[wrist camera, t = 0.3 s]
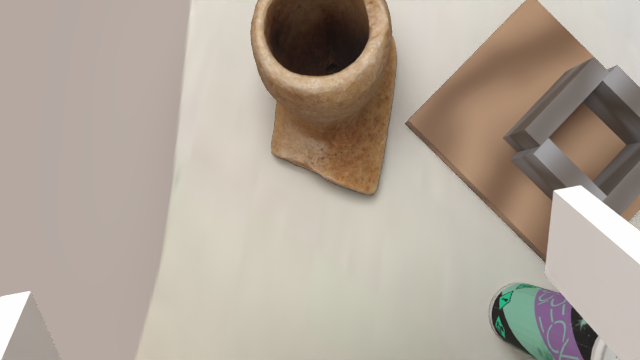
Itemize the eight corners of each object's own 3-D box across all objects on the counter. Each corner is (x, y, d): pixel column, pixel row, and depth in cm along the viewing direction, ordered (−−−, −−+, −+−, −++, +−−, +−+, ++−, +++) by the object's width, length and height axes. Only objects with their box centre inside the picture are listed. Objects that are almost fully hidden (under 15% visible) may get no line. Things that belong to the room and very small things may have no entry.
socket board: (678, 154, 51) (730, 146, 45) (564, 280, 50) (602, 289, 44) (524, 1, 51) (556, -27, 45) (404, 123, 50) (421, 110, 44)
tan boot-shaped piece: (273, 5, 50) (269, -85, 35) (402, 32, 50) (453, -44, 36) (239, 171, 49) (220, 152, 34) (372, 197, 49) (411, 190, 34)
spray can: (551, 286, 50) (730, 334, 30) (545, 348, 50) (722, 438, 30) (492, 278, 50) (632, 321, 30) (485, 341, 49) (623, 427, 29)
